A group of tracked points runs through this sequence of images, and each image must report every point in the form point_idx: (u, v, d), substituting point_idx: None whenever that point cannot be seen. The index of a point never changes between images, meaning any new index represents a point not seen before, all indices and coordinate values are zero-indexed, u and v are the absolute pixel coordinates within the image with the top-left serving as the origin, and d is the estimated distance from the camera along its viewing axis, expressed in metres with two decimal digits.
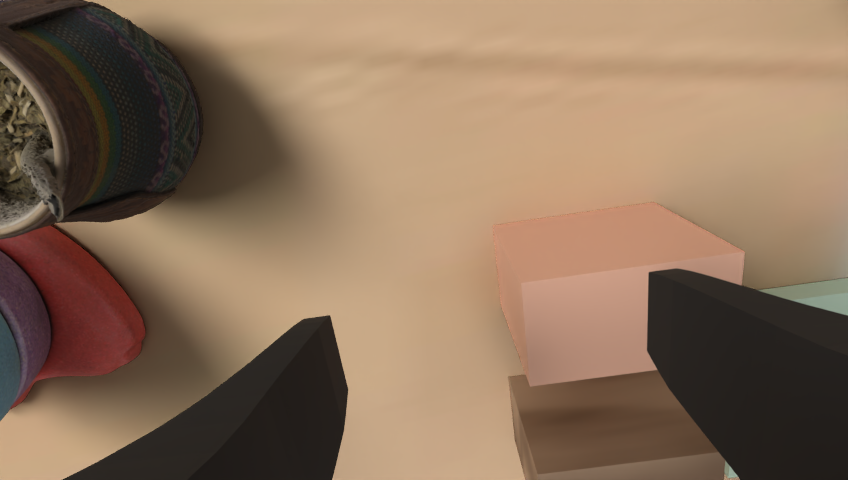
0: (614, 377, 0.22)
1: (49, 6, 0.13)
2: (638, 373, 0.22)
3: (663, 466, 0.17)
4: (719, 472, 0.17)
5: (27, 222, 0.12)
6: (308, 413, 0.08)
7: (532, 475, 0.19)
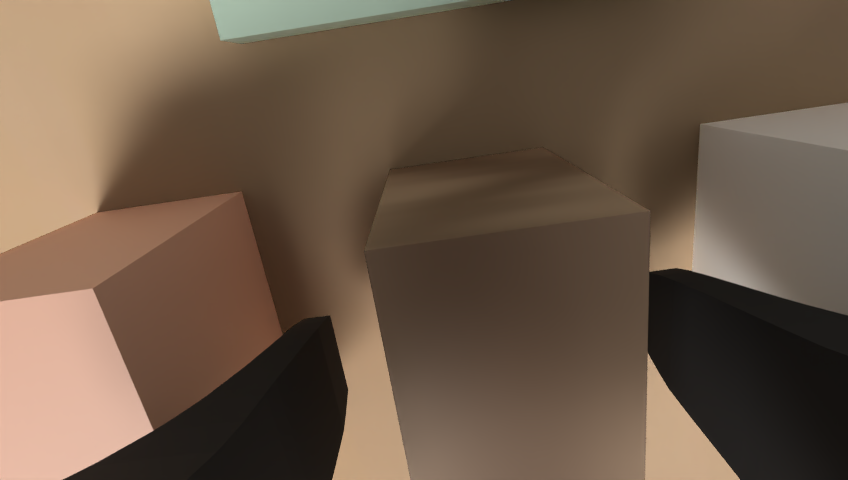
0: None
1: None
2: None
3: (414, 381, 0.07)
4: (436, 252, 0.07)
5: None
6: (307, 413, 0.08)
7: None
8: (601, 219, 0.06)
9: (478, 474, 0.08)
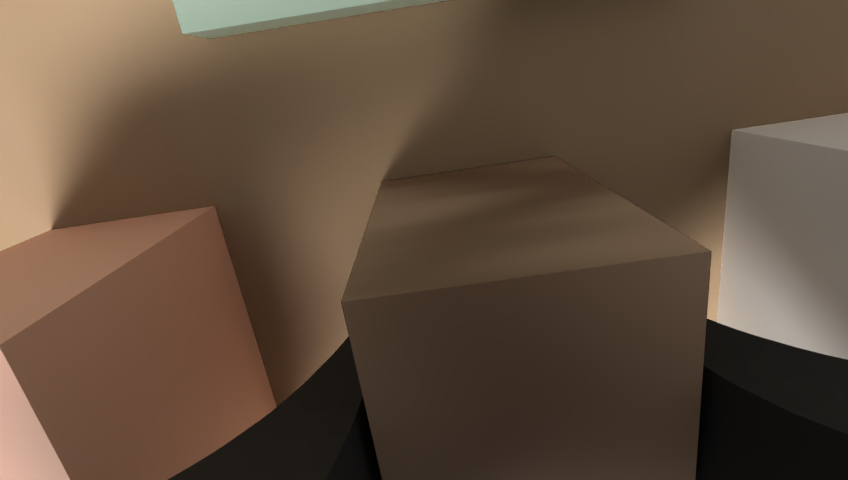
0: None
1: None
2: None
3: (406, 458, 0.06)
4: (433, 304, 0.05)
5: None
6: None
7: None
8: (646, 261, 0.05)
9: None
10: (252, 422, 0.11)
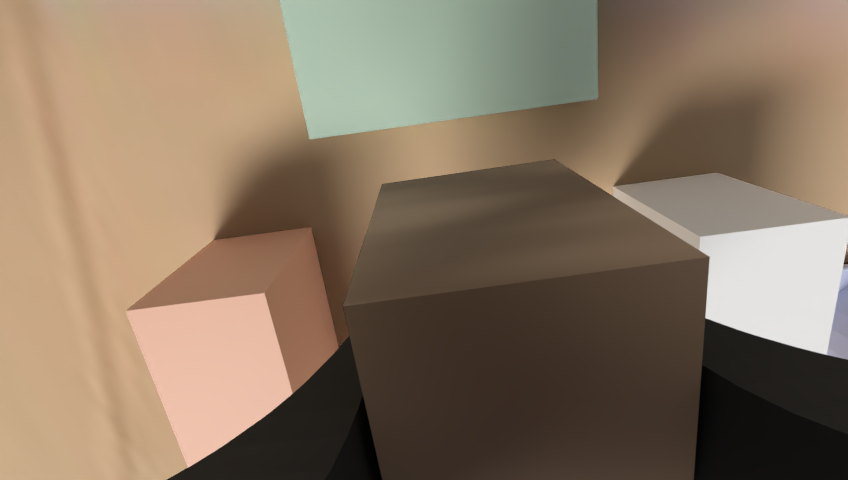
0: None
1: None
2: None
3: (406, 462, 0.06)
4: (434, 309, 0.05)
5: None
6: None
7: None
8: (645, 266, 0.05)
9: None
10: (330, 355, 0.19)
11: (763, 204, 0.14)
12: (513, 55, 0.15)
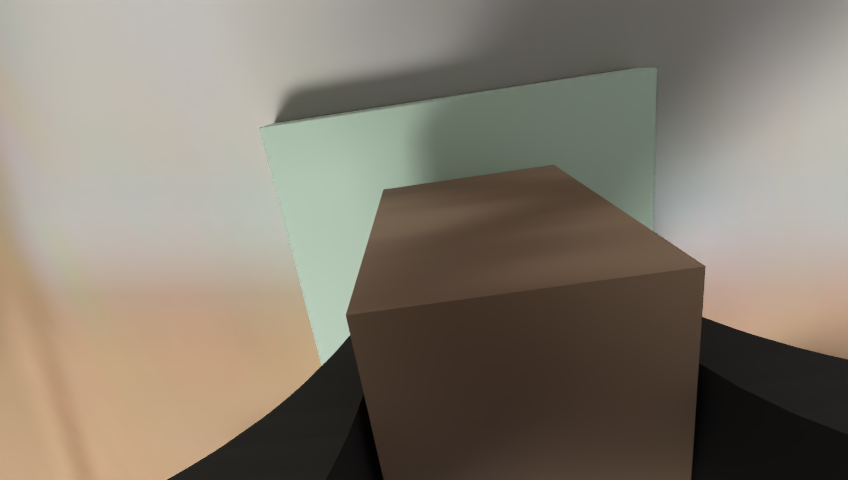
0: None
1: None
2: None
3: (408, 466, 0.06)
4: (436, 317, 0.05)
5: None
6: None
7: None
8: (642, 275, 0.05)
9: None
10: None
11: None
12: None
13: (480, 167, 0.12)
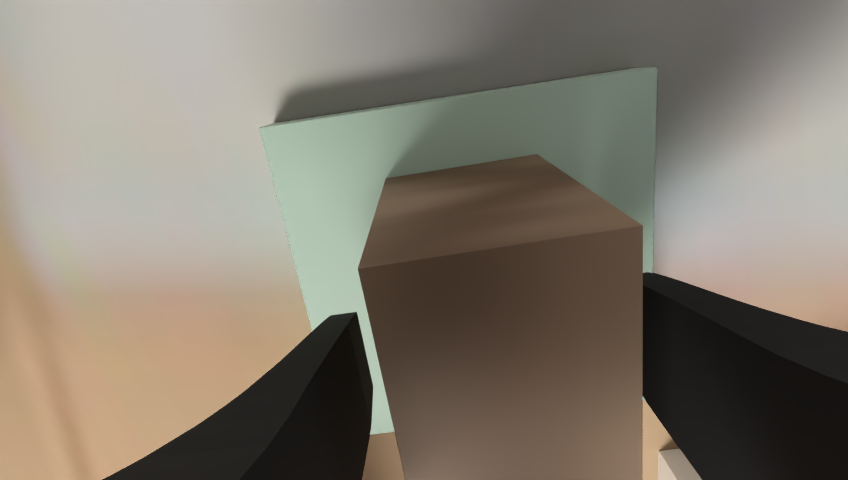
0: None
1: None
2: None
3: (410, 396, 0.07)
4: (428, 270, 0.07)
5: None
6: (341, 409, 0.08)
7: None
8: (593, 234, 0.06)
9: None
10: None
11: None
12: None
13: None
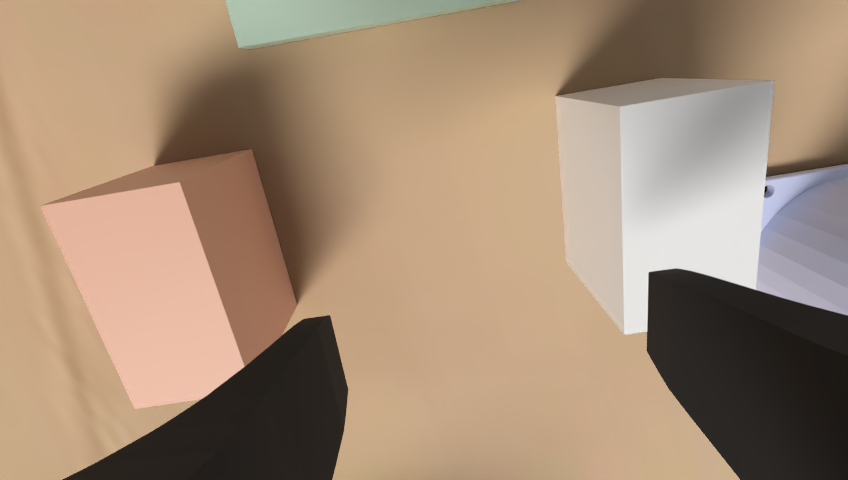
0: None
1: None
2: None
3: None
4: None
5: None
6: (308, 413, 0.08)
7: None
8: None
9: None
10: (276, 280, 0.19)
11: (693, 85, 0.14)
12: None
13: None
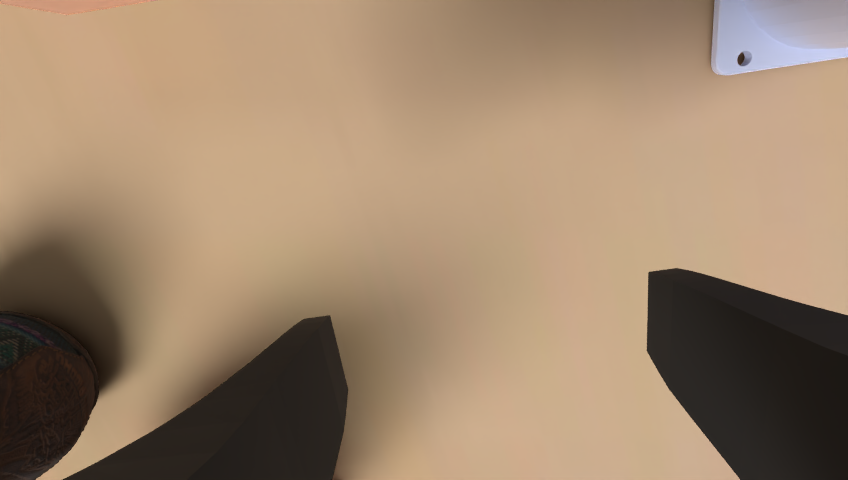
0: None
1: None
2: None
3: None
4: None
5: None
6: (307, 413, 0.08)
7: None
8: None
9: None
10: None
11: None
12: None
13: None
